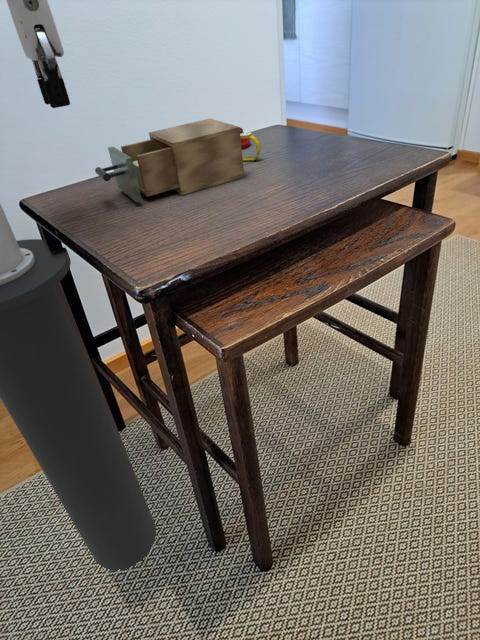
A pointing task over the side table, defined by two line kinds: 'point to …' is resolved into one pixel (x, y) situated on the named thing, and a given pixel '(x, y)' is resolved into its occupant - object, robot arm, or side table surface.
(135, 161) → the block
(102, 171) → the drawer
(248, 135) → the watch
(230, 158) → the cabinet
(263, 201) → the side table surface
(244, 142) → the tracker holder
